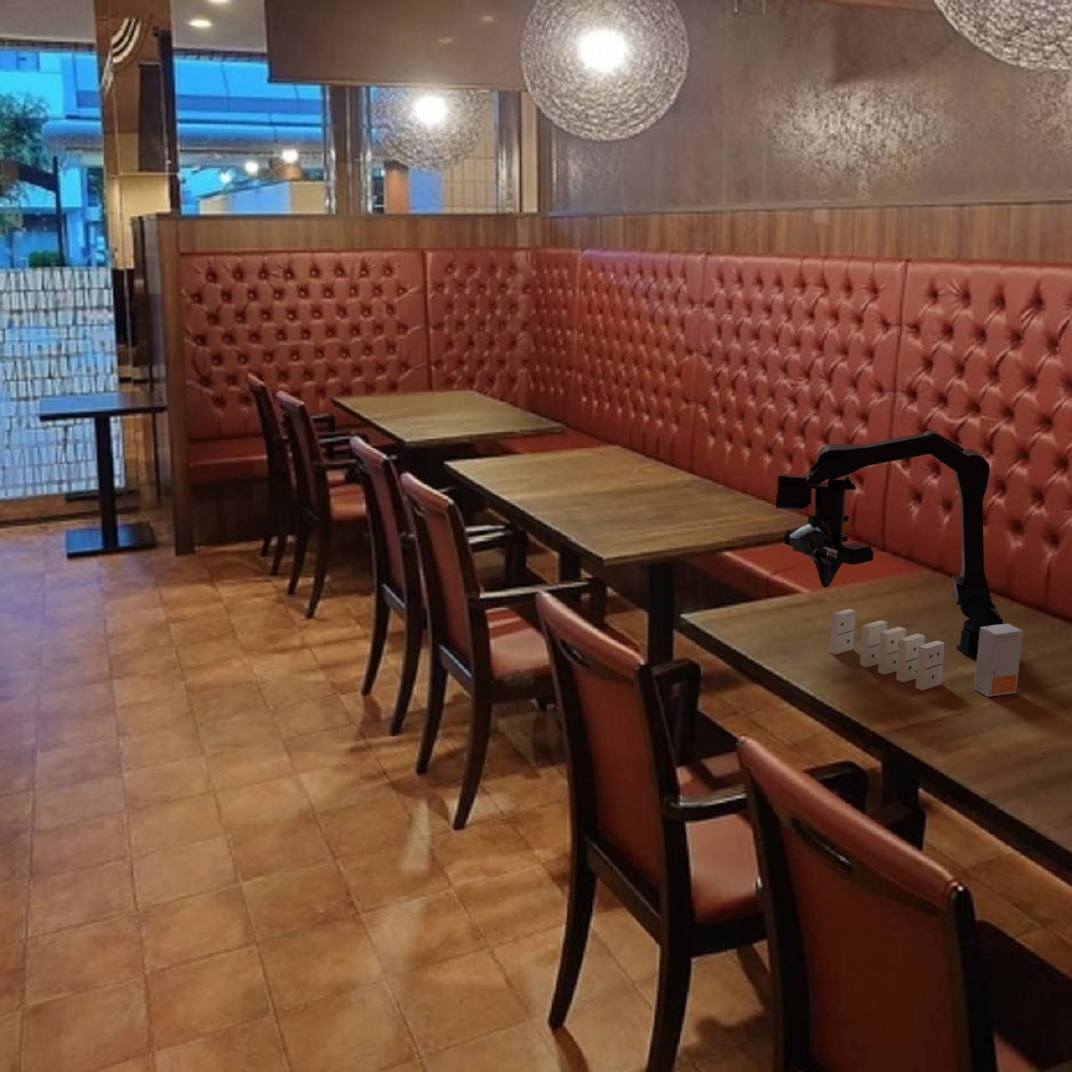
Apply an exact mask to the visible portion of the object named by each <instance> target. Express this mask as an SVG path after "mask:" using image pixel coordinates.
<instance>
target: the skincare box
mask: <svg viewBox="0 0 1072 1072" xmlns="http://www.w3.org/2000/svg"><path fill="white" fill-rule="evenodd" d="M1023 636H1024V631H1023V630H1022V629H1020V628H1018V627H1016V626H1014V625H1012V624H1010V623H1002V624H1001V625H992V626H986V627H980V634H979V643H978V653H977V659H976V665H975V673H974V683H973V688H974V690H976V691H977V692H979V693H980V694H982V695H984V696H986V697H988V698H989V697H997V696H1003V695H1011V694H1016V693H1017V687H1018V677H1019V671H1020V670H1019V668H1020V663H1021V661H1020V660H1021V653H1022V644H1023Z"/></svg>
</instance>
